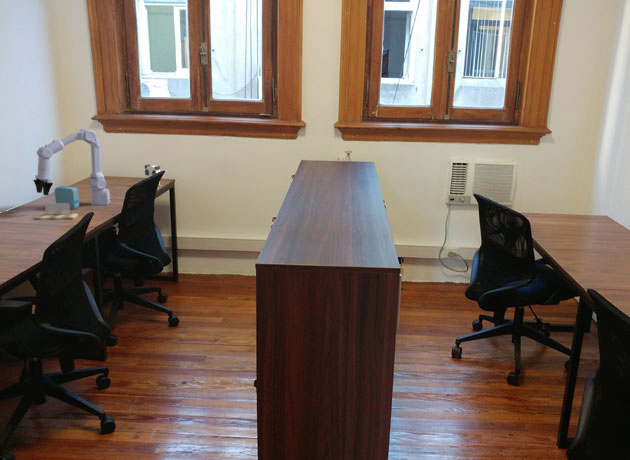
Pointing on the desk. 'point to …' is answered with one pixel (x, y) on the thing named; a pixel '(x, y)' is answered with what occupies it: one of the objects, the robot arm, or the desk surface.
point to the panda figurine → (151, 170)
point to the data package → (67, 196)
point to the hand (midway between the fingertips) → (42, 193)
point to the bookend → (56, 212)
